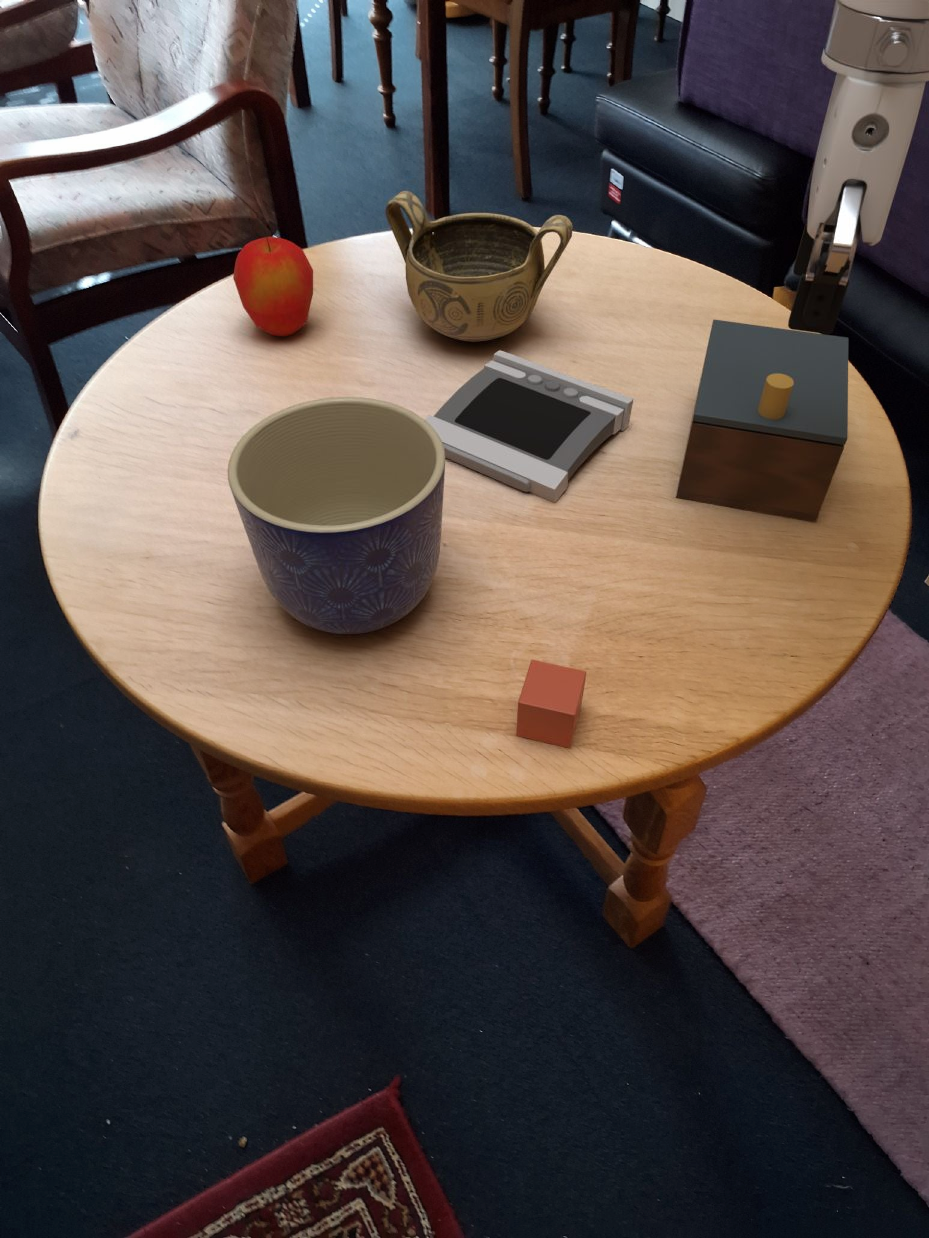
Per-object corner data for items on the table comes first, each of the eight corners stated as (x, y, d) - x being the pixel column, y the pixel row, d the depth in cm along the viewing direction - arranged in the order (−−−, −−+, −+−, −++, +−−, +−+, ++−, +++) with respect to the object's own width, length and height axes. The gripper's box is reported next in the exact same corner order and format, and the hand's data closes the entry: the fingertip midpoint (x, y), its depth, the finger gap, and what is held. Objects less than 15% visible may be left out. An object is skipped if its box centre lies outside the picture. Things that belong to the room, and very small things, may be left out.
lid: (846, 344, 92) (859, 307, 89) (845, 445, 80) (859, 407, 77) (711, 326, 94) (719, 289, 91) (692, 421, 83) (700, 383, 80)
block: (581, 705, 73) (586, 671, 69) (570, 748, 70) (575, 715, 66) (528, 693, 73) (531, 658, 70) (515, 735, 71) (517, 702, 67)
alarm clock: (633, 398, 95) (555, 468, 86) (626, 436, 99) (550, 507, 89) (499, 350, 102) (413, 409, 92) (497, 386, 105) (413, 447, 96)
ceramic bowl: (582, 314, 114) (594, 193, 103) (535, 383, 104) (542, 258, 92) (424, 281, 120) (419, 164, 109) (364, 343, 110) (352, 221, 98)
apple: (239, 350, 109) (218, 254, 100) (253, 312, 115) (234, 218, 106) (315, 350, 109) (301, 254, 100) (325, 312, 115) (312, 219, 106)
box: (820, 419, 98) (845, 346, 92) (815, 522, 87) (844, 447, 80) (695, 400, 101) (711, 327, 94) (675, 497, 90) (691, 423, 83)
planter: (377, 506, 89) (363, 372, 78) (487, 601, 80) (489, 466, 69) (226, 584, 82) (187, 449, 71) (329, 697, 73) (303, 564, 62)
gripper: (965, 90, 49) (862, 369, 62) (945, 4, 60) (861, 256, 73) (824, 78, 51) (752, 353, 64) (830, -4, 62) (768, 245, 75)
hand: (811, 300), depth 69 cm, fingers open, 7 cm apart
